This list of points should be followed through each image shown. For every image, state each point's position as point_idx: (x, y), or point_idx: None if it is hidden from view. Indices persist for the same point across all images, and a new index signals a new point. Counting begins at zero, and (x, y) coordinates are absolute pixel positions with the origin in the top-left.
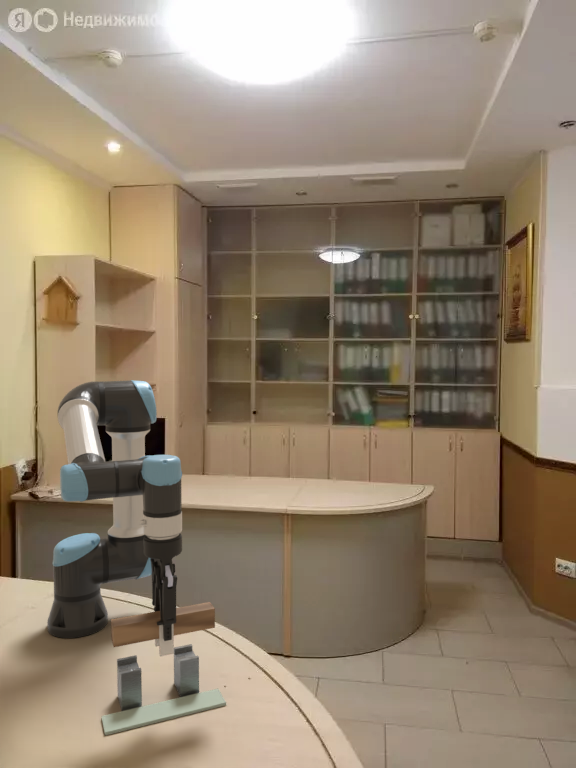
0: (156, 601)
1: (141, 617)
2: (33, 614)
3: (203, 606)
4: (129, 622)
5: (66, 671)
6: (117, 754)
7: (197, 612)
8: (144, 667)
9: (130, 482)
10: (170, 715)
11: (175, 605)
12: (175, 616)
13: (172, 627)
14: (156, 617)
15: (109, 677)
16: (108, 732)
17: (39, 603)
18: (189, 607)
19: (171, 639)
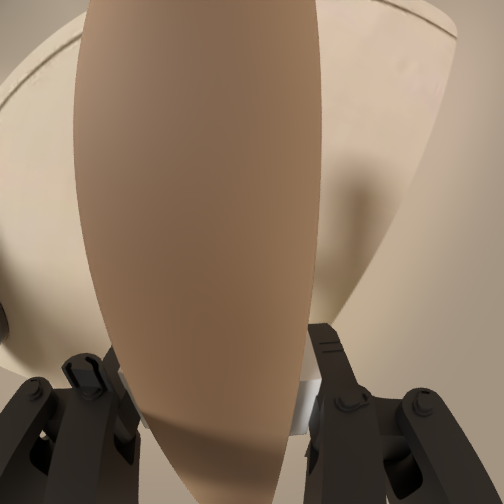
0: (134, 495)
1: (223, 485)
2: None
3: (175, 22)
4: (258, 500)
5: (72, 345)
6: (321, 315)
7: (321, 138)
8: (68, 233)
9: None
10: None
11: (493, 492)
12: (456, 429)
13: (310, 353)
14: (260, 462)
15: (90, 296)
16: None
17: None
18: (130, 213)
19: (327, 324)
